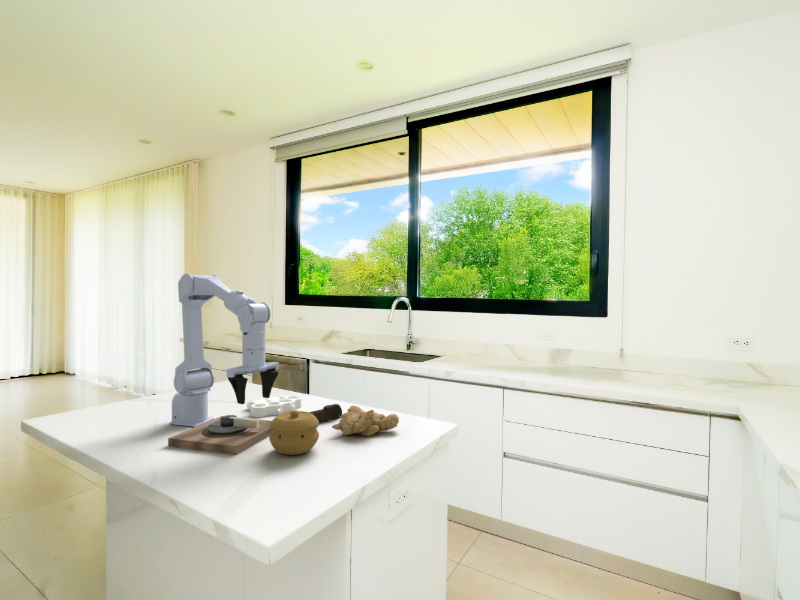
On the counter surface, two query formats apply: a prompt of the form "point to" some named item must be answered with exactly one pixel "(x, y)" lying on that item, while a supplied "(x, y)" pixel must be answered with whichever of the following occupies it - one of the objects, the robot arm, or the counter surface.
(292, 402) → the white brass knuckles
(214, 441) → the dial board
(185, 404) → the robot arm
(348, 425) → the ginger root
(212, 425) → the dial
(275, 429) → the pot
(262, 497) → the counter surface
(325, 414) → the brown rough bar
